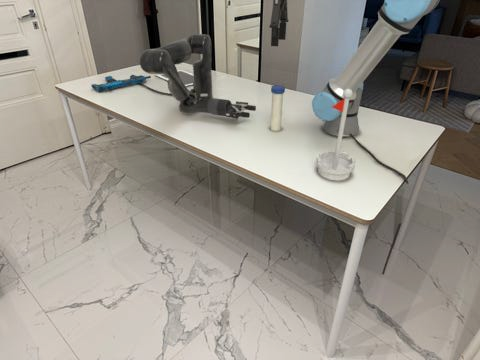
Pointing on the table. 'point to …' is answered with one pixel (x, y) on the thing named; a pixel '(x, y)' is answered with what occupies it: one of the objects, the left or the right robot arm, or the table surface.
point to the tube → (276, 111)
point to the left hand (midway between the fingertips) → (252, 111)
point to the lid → (277, 89)
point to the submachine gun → (119, 82)
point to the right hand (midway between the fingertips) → (278, 42)
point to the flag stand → (337, 149)
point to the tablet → (181, 77)
